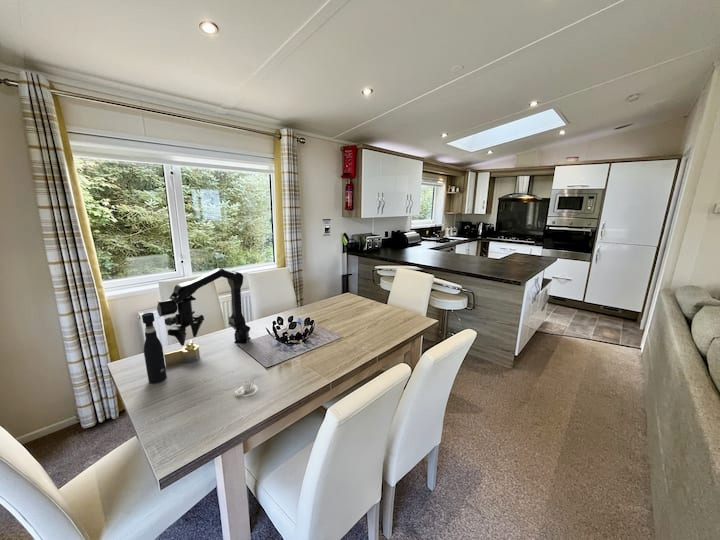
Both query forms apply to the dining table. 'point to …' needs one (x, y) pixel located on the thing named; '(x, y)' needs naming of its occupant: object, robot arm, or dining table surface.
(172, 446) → the dining table surface
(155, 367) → the black water bottle
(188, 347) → the hinge pin
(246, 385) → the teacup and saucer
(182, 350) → the hinge
